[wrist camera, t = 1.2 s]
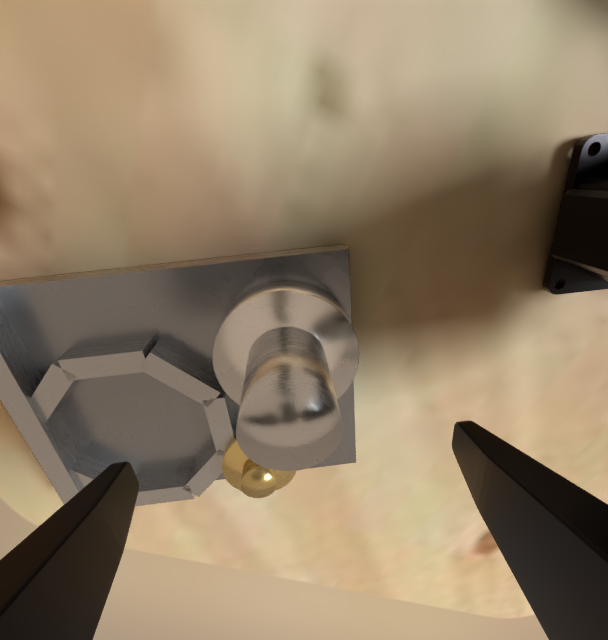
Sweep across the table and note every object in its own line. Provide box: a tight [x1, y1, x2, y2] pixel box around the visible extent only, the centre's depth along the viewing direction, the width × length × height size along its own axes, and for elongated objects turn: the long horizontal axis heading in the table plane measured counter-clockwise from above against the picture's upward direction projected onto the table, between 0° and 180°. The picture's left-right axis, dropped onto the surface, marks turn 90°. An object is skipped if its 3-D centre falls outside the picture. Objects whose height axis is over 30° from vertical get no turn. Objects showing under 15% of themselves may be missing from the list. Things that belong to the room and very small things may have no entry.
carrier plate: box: [0, 244, 356, 506], centre depth 15 cm, size 15×12×4 cm
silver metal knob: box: [213, 280, 359, 471], centre depth 12 cm, size 6×6×6 cm
